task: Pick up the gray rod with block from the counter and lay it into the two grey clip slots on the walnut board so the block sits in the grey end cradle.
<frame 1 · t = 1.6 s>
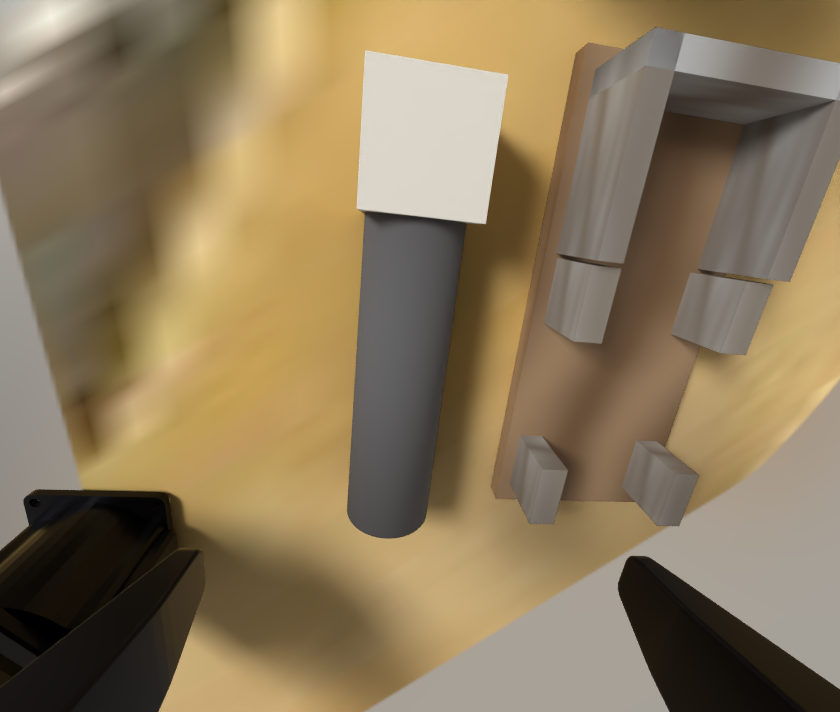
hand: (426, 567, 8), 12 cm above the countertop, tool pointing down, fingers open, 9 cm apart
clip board: (594, 379, 21), on the countertop
gray rod with block: (397, 365, 19), on the countertop
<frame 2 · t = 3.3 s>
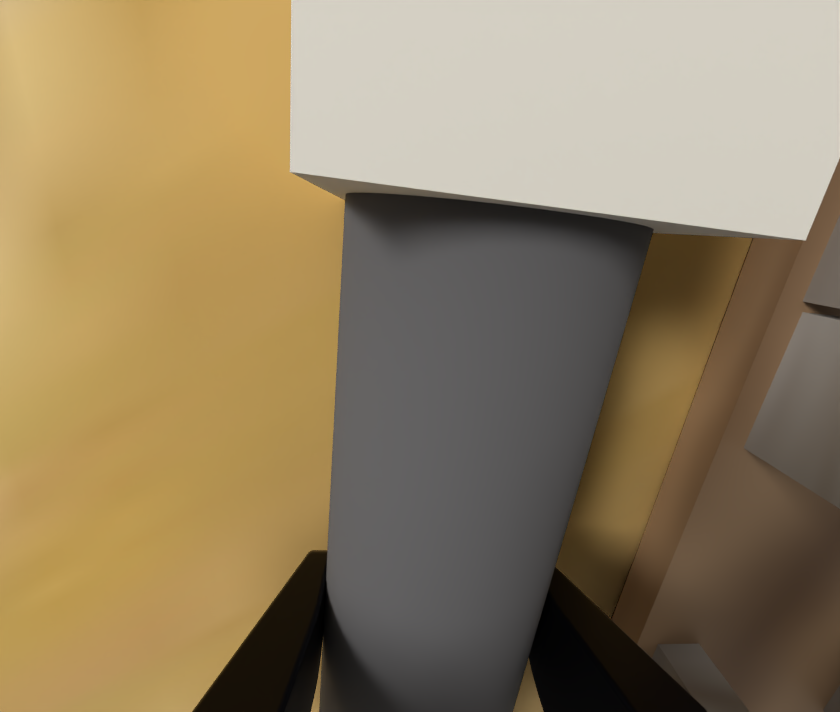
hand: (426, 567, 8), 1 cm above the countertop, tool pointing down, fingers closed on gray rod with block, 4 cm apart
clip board: (796, 528, 11), on the countertop
gray rod with block: (420, 517, 10), on the countertop, touching gripper
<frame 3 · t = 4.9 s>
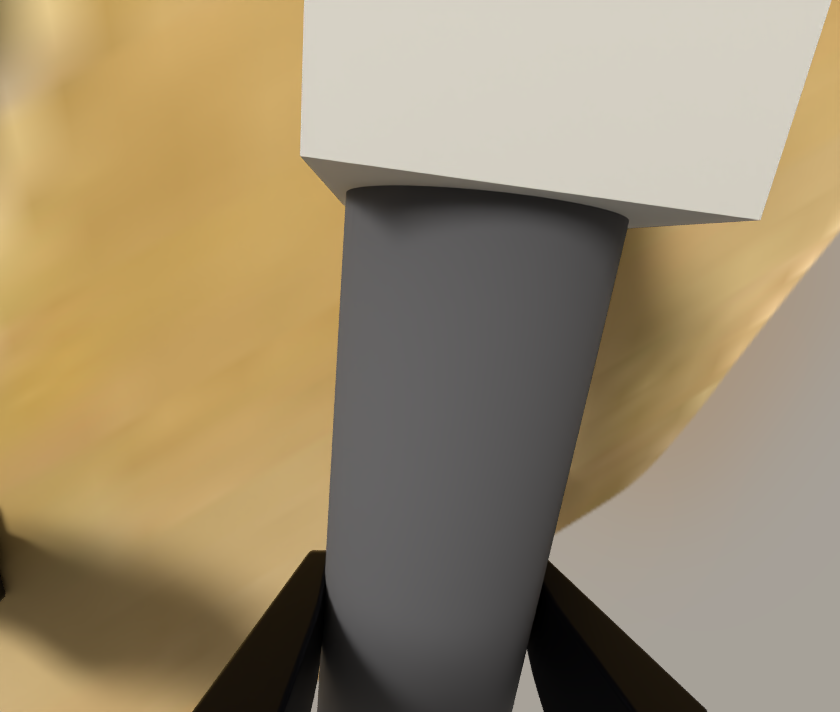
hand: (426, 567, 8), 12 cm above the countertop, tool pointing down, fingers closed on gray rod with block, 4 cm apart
gray rod with block: (418, 518, 10), point 10 cm above the countertop, touching gripper
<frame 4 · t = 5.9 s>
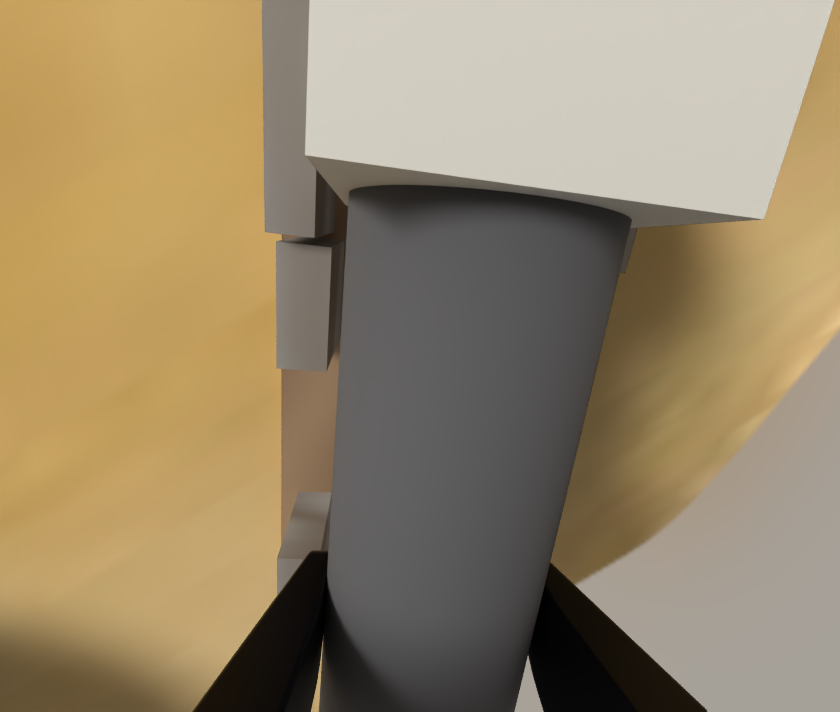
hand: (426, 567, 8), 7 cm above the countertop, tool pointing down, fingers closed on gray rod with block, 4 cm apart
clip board: (411, 412, 15), on the countertop
gray rod with block: (419, 518, 10), point 5 cm above the countertop, touching gripper
when the fingers open (4 cm above the countertop, at t = 6.8 s): gray rod with block drops 1 cm, resting on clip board.
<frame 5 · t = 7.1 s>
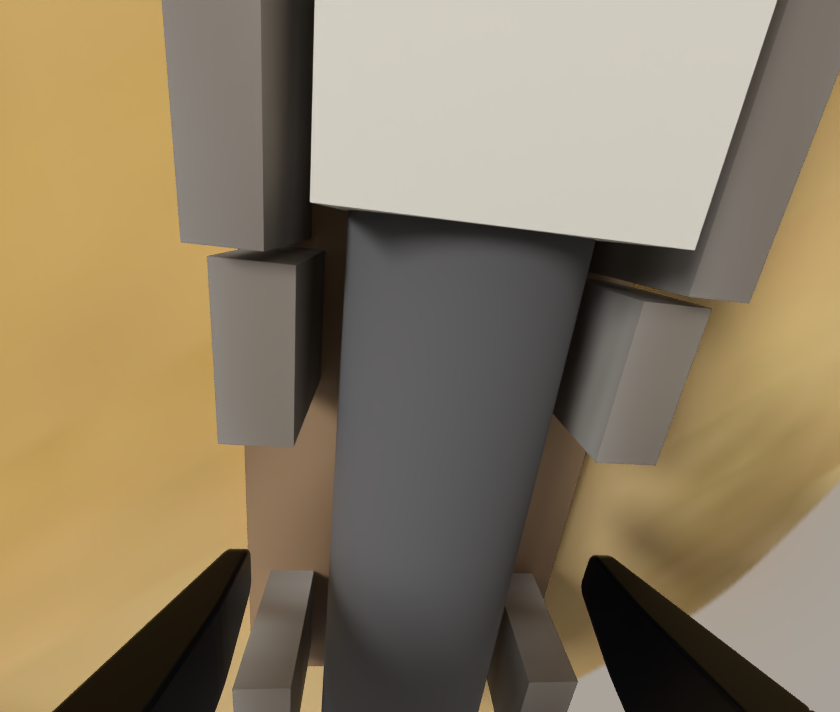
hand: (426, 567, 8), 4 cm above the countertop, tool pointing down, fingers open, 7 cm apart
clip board: (415, 465, 12), on the countertop
gray rod with block: (414, 492, 11), point 1 cm above the countertop, touching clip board
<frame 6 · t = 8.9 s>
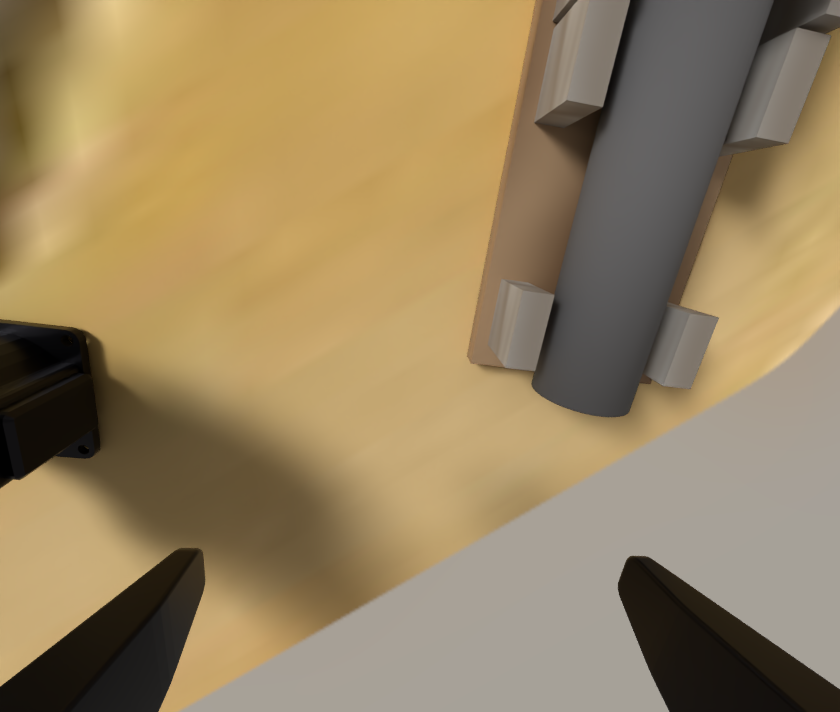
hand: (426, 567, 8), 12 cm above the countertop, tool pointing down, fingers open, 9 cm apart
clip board: (594, 219, 17), on the countertop
gray rod with block: (602, 223, 16), point 1 cm above the countertop, touching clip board
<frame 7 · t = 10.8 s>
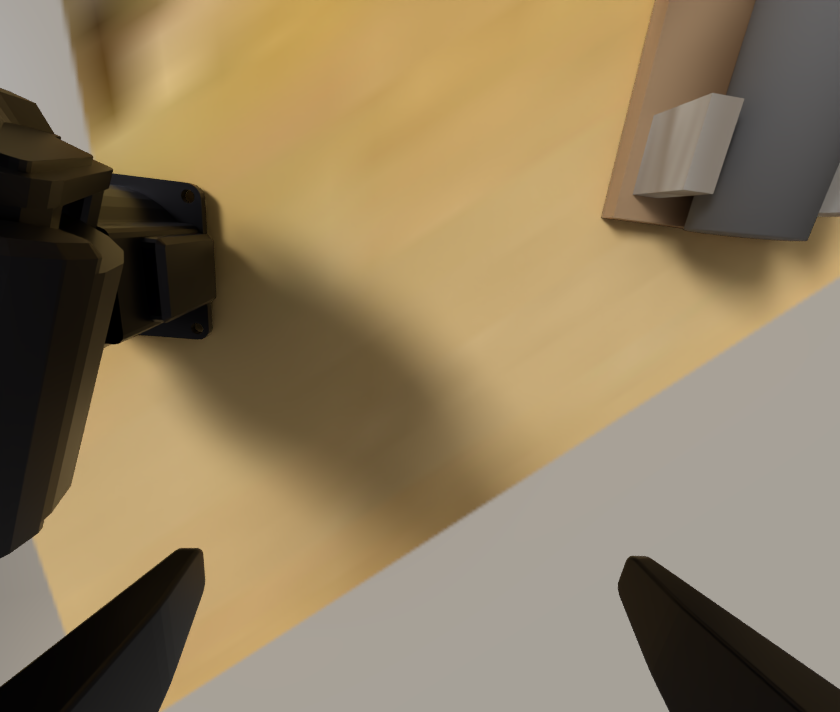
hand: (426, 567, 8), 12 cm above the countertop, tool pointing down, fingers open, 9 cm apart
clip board: (745, 54, 16), on the countertop
gray rod with block: (763, 48, 15), point 1 cm above the countertop, touching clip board
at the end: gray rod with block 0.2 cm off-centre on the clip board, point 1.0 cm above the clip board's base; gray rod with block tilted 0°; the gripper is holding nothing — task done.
